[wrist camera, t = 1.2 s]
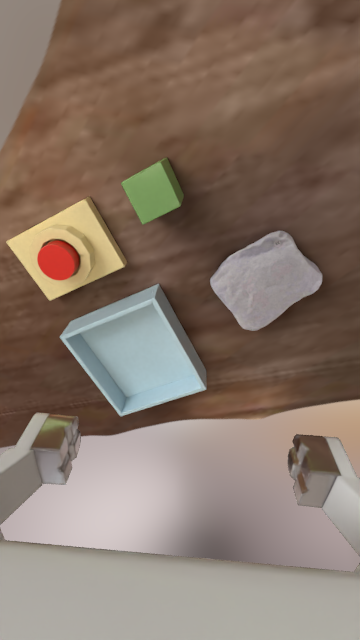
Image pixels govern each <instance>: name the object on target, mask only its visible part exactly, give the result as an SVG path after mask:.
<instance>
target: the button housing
mask: <svg viewBox="0 0 360 640" xmlns="http://www.w3.org/2000/svg"><path fill="white" fill-rule="evenodd" d="M57 240H58V241H64V242H66V243H68V244H70V245H71V246H72V247H73V248H74V249H75V250H76V252H77V254H78V256H79V266H78V268H77V270H76V271H75V272H74V273H73V274H72V275H71V277H69V278H68V279H66V280H54V279H51V278H49V277H48V276H46V275H45V274H44V273H43V272H42V271H41V269H40V267H39V265H38V261H37V256H38V253H39V251H40V250H41V249H42V248H43V247H44V246H46V245H47V244H48V243H50V242H52V241H57ZM7 244H8V245H9V246H10V248H11V249H12V251H13V252H14V253H15V255H16V256H17V257H18V259H19V260H20V261H21V263H22V264H23V265H24V267H25V268H26V269H27V271H28V272H29V274H30V275H31V276H32V278H33V279H34V280H35V282H36V283H37V284H38V286H39V287H40V288H41V290H42V291H43V292H44V294H45V295H46V297H47V298H48V299H49V301H50V300H53V299H55V298H57V297H59V296H61V295H64V294H66V293H68V292H70V291H72V290H75V289H77V288H79V287H81V286H83V285H85V284H88V283H90V282H92V281H94V280H96V279H99V278H101V277H103V276H105V275H107V274H110V273H112V272H114V271H116V270H118V269H121V268H123V267H125V265H126V263H127V261H126V259H125V257H124V255H123V254H122V252H121V250H120V249H119V247H118V245H117V243H116V242H115V240H114V238H113V236H112V235H111V233H110V231H109V230H108V228H107V226H106V224H105V223H104V221H103V219H102V217H101V216H100V214H99V212H98V210H97V209H96V207H95V205H94V204H93V202H92V200H91V198H90V197H87V198H86V199H84V200H82V201H80V202H78V203H76V204H74V205H73V206H71V207H69V208H67V209H65V210H63V211H62V212H60V213H58V214H56V215H54V216H52V217H51V218H49V219H47V220H45V221H43V222H41V223H39V224H38V225H36V226H34V227H32V228H30V229H28V230H27V231H25V232H23V233H21V234H19V235H17V236H16V237H14V238H12V239H10V240H8V241H7Z"/></svg>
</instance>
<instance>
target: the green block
mask: <svg viewBox="0 0 360 640" xmlns="http://www.w3.org/2000/svg"><path fill="white" fill-rule="evenodd" d="M121 185H122V187H123V188H124V190H125V192H126V194H127V196H128V198H129V200H130V202H131V204H132V206H133V208H134V209H135V211H136V213H137V215H138V217H139V219H140V221H141V223H142V224H145V223H147V222H149V221H152V220H154V219H156V218H158V217H160V216H162V215H164V214H166V213H168V212H170V211H172V210H174V209H176V208H178V207H180V206H181V204H182V201H183V197H184V194H183V192H182V190H181V188H180V185H179V183H178V181H177V179H176V176H175V174H174V172H173V170H172V168H171V165H170V163H169V161H168V159H167V158H164V159H163V160H161V161H159V162H157V163H155V164H153V165H152V166H150V167H148V168H146V169H144V170H142V171H140V172H139V173H137V174H135V175H133V176H131V177H130V178H128V179H127V180H125V181H123V182H122V183H121Z"/></svg>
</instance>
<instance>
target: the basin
mask: <svg viewBox="0 0 360 640" xmlns="http://www.w3.org/2000/svg"><path fill="white" fill-rule="evenodd" d="M60 338H61V340H62V341H63V342H64V344H65V345H66V346H67V347H68V349H69V350H70V351H71V353H72V354H73V355H74V357H75V358H76V359H77V360H78V362H79V363H80V364H81V366H82V367H83V368H84V370H85V371H86V372H87V373H88V375H89V376H90V377H91V379H92V380H93V381H94V383H95V384H96V385H97V387H98V388H99V389H100V390H101V392H102V393H103V394H104V396H105V397H106V398H107V400H108V401H109V402H110V403H111V405H112V406H113V407H114V409H115V410H116V411H117V413H118V414H119V415H120V416H123V415H127V414H130V413H133V412H136V411H139V410H143V409H146V408H149V407H152V406H155V405H159V404H162V403H165V402H168V401H171V400H175V399H178V398H181V397H184V396H187V395H190V394H194V393H197V392H200V391H203V390H206V389H207V380H206V369H205V367H204V365H203V364H202V362H201V360H200V358H199V356H198V355H197V353H196V351H195V349H194V347H193V345H192V344H191V342H190V340H189V338H188V336H187V334H186V333H185V331H184V329H183V327H182V325H181V323H180V322H179V320H178V318H177V316H176V314H175V313H174V311H173V309H172V307H171V305H170V303H169V302H168V300H167V298H166V296H165V294H164V292H163V291H162V289H161V287H160V285H159V284H157V285H155V286H152V287H150V288H147V289H145V290H143V291H140V292H138V293H136V294H133V295H131V296H129V297H126V298H124V299H122V300H119V301H117V302H115V303H112V304H110V305H108V306H105V307H103V308H101V309H98V310H96V311H94V312H91V313H89V314H86V315H84V316H82V317H79V318H77V319H75V320H72V321H71V322H70V323H69V324H68V326H67V327H66V329H65V330H64V332H63V333H62V334H61V336H60Z"/></svg>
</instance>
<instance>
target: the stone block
mask: <svg viewBox="0 0 360 640" xmlns="http://www.w3.org/2000/svg"><path fill="white" fill-rule="evenodd" d="M321 283H322V273H321V272H320V270H319V269H318V267H317V265H315V264H314V263H313V262H312V261H310V260H309V259H307V258H306V257H305V256H304V255H302V253H301V252H300V251H299V250H298V249H297V246H296V245H295V242H294V240H293V238H292V237H291V236H290V235H289V234H288V233H285V232H284V231H277V232H273V233H270V234H268V235H266V236H265V237H263V238H261V239H260V240H258V241H256V242H255V243H253V244H250V245H248V246H247V247H246V248H244V249H241V250H239V251H237V252H236V253H234V254H232V255H230V256H229V257H228V258H227V259H226V260H225V261H224V262H222V264H221V265H220V267H219V269H218V270H217V271H216V272H215V274H214V275H213V276H212V277H211V278H210V284H211V287H212V288H213V290H214V292H215V293H216V294H217V295H218V297H219V298H220V299H221V300H222V302H223V303H224V304H225V305H226V306H227V308H228V309H229V310H230V311H231V312H232V313H233V315H234V316H235V318H236V319H237V321H238V323H239V324H240V326H241V327H242V328H243V329H247V330H251V331H254V330H258V329H260V328H262V327H265V326H266V325H268V324H269V323H271V322H272V321H273V320H275V319H276V318H277V317H278V316H280V315H281V314H282V313H283V312H284V311H285V310H286V309H287V308H289V307H290V306H291V305H292V304H294V303H295V302H297V301H299V300H300V299H302V298H303V297H305V296H308V295H310V294H313V293H314V292H315V291H317V290H318V289H319V287H320V285H321Z"/></svg>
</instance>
